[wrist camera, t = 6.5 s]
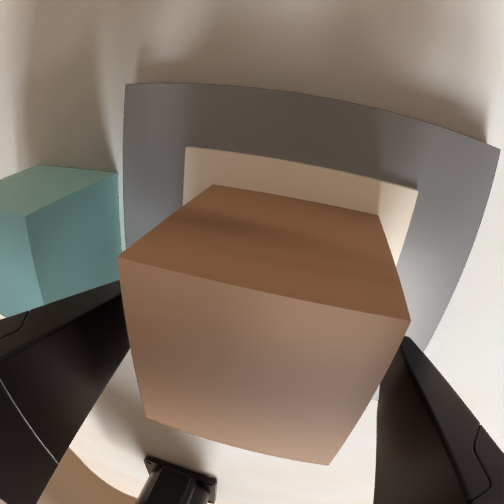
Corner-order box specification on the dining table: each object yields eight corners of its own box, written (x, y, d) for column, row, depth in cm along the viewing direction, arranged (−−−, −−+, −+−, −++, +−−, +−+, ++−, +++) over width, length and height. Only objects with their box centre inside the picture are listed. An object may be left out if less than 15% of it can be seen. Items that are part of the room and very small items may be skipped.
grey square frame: (391, 386, 13) (393, 405, 12) (146, 328, 15) (134, 343, 14) (487, 144, 8) (503, 150, 7) (141, 84, 10) (122, 83, 9)
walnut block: (338, 344, 11) (328, 465, 7) (206, 315, 12) (146, 417, 8) (378, 214, 9) (411, 320, 5) (213, 184, 10) (116, 257, 5)
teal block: (125, 279, 14) (57, 346, 10) (52, 256, 15) (-14, 304, 11) (119, 172, 12) (24, 216, 7) (40, 164, 13) (-42, 198, 8)
